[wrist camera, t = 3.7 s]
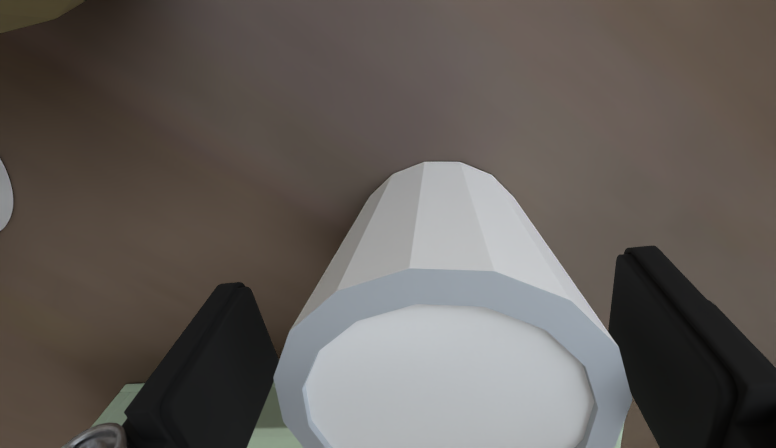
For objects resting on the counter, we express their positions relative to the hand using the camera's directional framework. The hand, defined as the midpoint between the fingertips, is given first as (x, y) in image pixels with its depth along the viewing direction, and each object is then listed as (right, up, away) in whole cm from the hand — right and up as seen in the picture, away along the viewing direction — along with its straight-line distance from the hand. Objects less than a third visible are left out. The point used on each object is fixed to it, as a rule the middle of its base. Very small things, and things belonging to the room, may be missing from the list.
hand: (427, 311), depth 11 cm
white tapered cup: (+1, +2, +4) cm, 4 cm away
